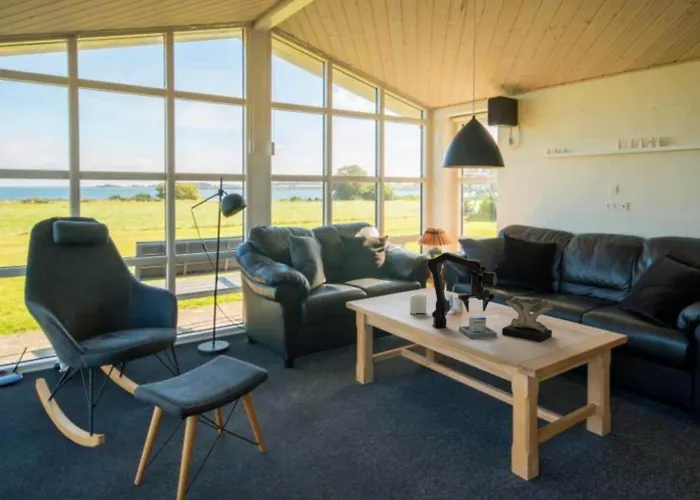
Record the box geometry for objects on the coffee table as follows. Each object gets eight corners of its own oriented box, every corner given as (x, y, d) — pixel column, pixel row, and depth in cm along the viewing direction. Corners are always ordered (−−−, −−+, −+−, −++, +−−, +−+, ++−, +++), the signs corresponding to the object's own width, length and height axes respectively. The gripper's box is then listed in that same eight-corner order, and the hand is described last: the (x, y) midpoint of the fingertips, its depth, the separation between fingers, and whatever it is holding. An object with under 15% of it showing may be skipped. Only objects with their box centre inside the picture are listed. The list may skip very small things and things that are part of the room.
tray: (470, 338, 269) (470, 334, 269) (458, 330, 284) (458, 326, 283) (496, 336, 272) (496, 332, 272) (484, 329, 287) (484, 324, 286)
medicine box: (472, 334, 275) (472, 318, 274) (468, 331, 279) (469, 316, 278) (485, 333, 277) (486, 317, 275) (481, 330, 281) (482, 315, 280)
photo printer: (425, 312, 326) (425, 293, 324) (426, 313, 321) (427, 294, 320) (409, 313, 324) (409, 293, 323) (410, 314, 320) (411, 295, 318)
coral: (558, 338, 268) (560, 298, 265) (541, 347, 254) (542, 304, 251) (514, 329, 286) (515, 291, 283) (495, 337, 271) (496, 297, 269)
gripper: (466, 287, 266) (465, 316, 268) (499, 285, 270) (498, 314, 272) (458, 283, 277) (457, 311, 279) (490, 281, 280) (489, 309, 282)
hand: (475, 311), depth 278 cm, fingers open, 9 cm apart
